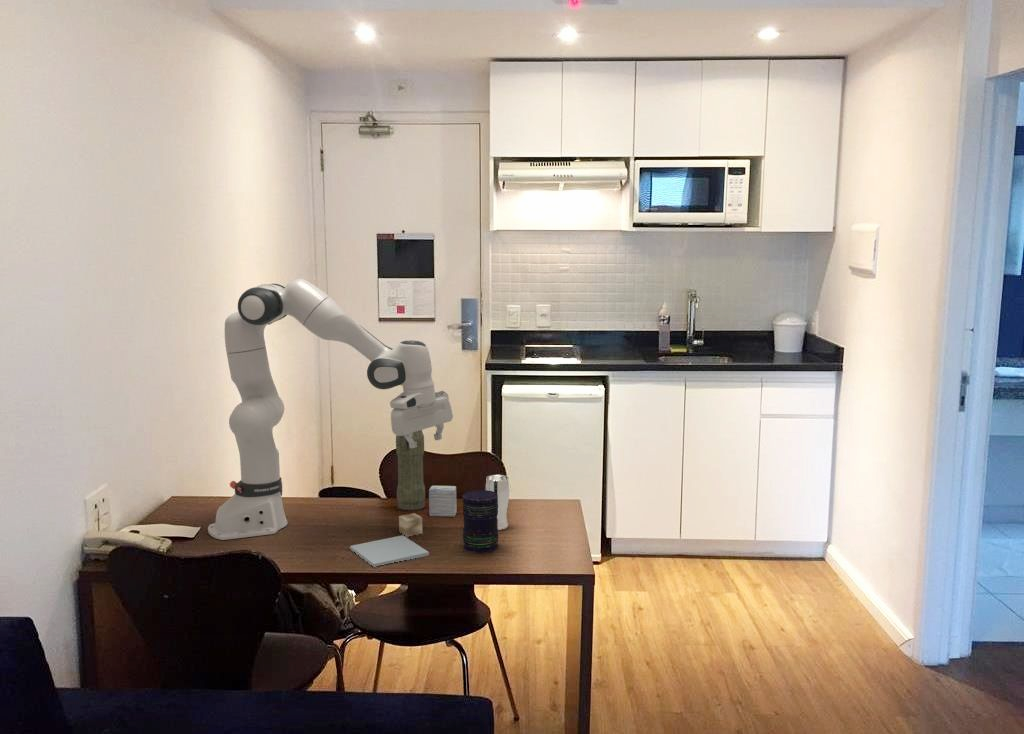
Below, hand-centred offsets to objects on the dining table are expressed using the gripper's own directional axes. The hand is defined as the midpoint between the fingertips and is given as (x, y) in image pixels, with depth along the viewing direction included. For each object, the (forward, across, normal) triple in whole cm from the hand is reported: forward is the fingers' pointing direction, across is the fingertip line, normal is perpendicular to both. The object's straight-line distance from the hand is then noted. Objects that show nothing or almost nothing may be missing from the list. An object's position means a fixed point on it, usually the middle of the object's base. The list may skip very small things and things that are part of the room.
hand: (426, 443), depth 254 cm
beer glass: (+28, -15, +10) cm, 33 cm away
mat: (+25, +21, +4) cm, 33 cm away
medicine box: (+26, -11, -10) cm, 30 cm away
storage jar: (+28, +1, +19) cm, 34 cm away
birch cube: (+26, +7, -4) cm, 27 cm away
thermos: (+25, -9, -23) cm, 35 cm away
